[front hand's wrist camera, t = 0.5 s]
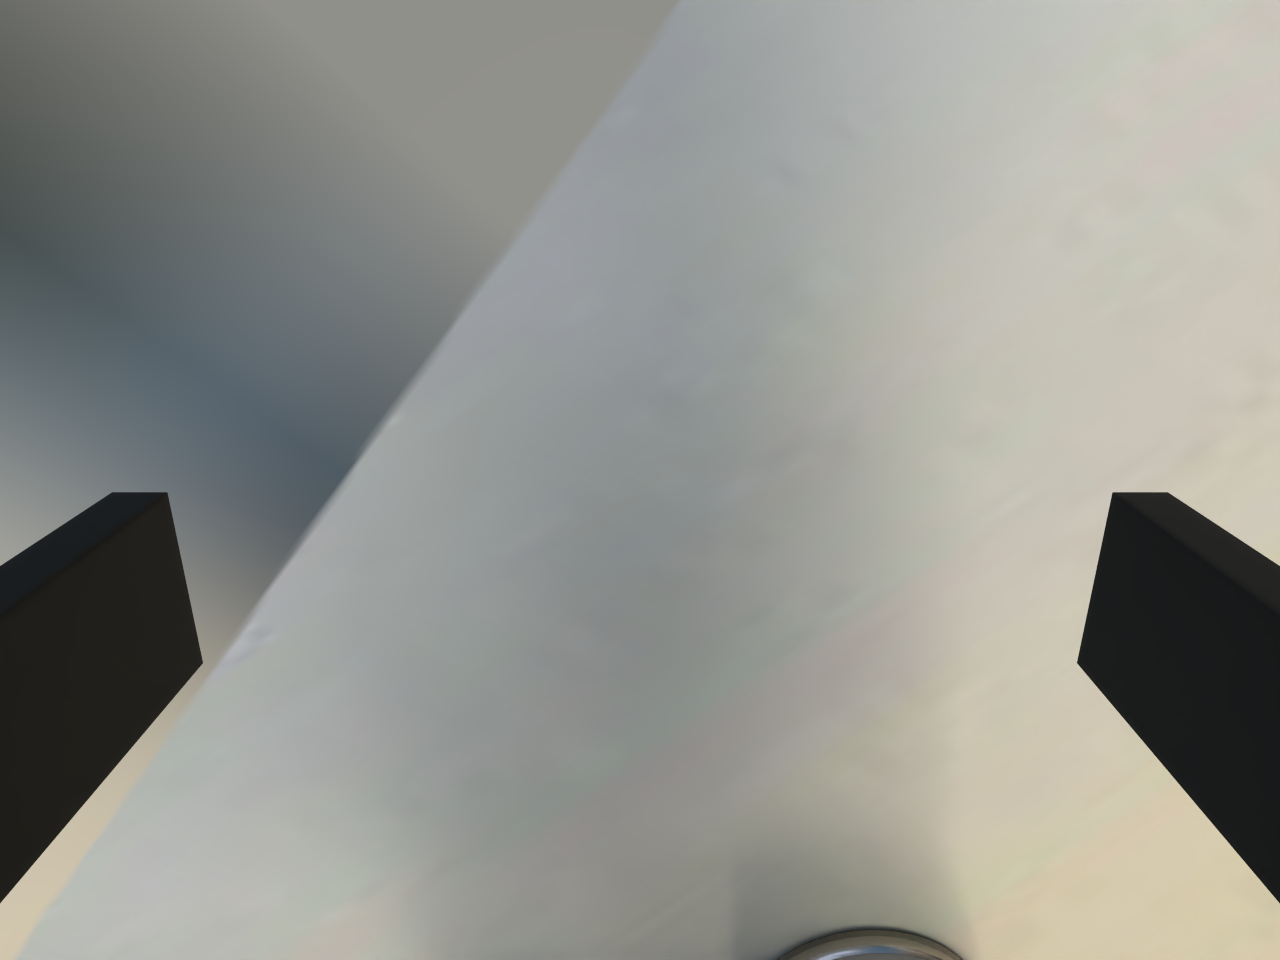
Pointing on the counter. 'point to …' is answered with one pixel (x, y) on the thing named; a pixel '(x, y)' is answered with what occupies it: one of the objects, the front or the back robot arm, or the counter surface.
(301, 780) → the counter surface
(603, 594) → the counter surface
